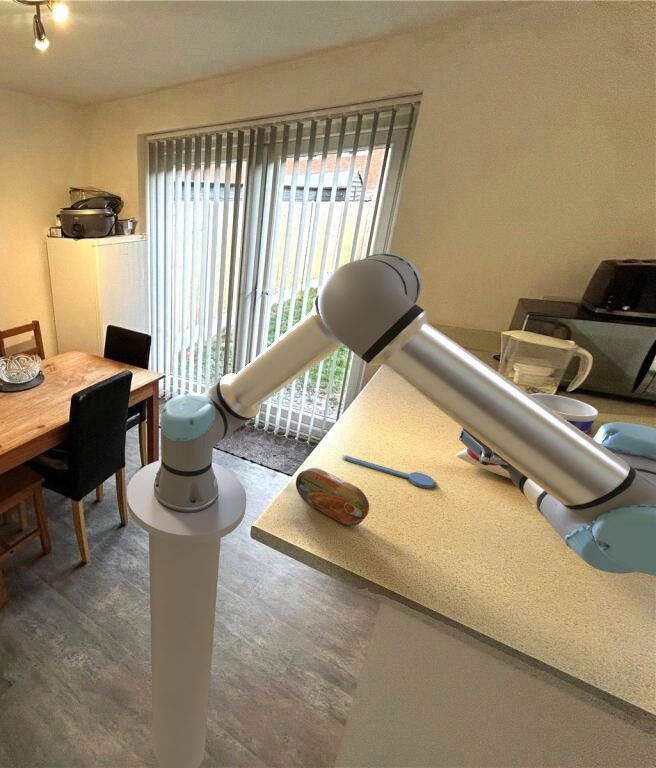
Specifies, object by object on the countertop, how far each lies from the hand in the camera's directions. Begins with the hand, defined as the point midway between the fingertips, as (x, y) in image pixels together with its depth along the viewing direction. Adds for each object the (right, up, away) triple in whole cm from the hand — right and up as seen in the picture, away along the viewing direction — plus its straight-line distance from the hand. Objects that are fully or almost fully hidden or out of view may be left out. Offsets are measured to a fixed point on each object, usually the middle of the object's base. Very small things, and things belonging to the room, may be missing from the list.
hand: (484, 420), depth 84 cm
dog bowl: (+49, -4, +33) cm, 59 cm away
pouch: (+17, -13, +12) cm, 25 cm away
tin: (-34, -20, 0) cm, 39 cm away
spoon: (-13, -14, +12) cm, 22 cm away
